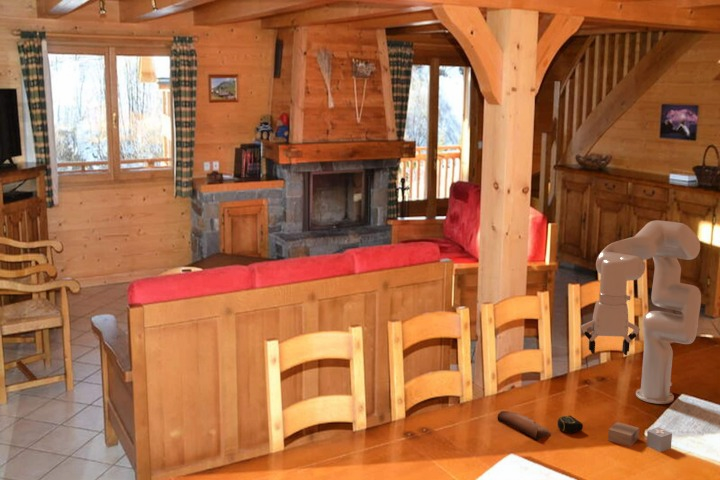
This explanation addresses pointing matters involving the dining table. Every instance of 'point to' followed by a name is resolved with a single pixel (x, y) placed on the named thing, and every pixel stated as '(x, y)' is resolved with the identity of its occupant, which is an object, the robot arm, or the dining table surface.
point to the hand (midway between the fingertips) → (608, 353)
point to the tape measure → (569, 424)
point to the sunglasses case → (524, 424)
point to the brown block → (623, 434)
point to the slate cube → (659, 439)
